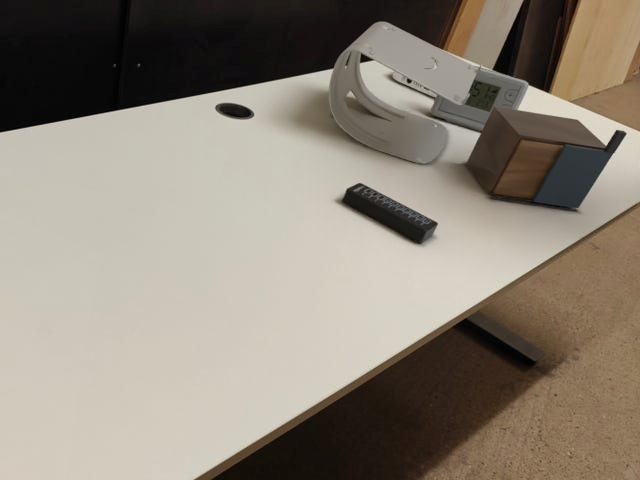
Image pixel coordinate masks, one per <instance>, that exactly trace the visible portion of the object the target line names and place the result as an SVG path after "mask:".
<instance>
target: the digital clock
mask: <svg viewBox="0 0 640 480" xmlns="http://www.w3.org/2000/svg"><path fill="white" fill-rule="evenodd" d="M474 66H475V67H476V68H478V69H479V67H480V66H477V65H474ZM528 88H529V82H527V80H524V79H520V78H517V77H513V76H511V75H508V74H505V73H501V72H498V71H494V70H491V69H487V68H485V67H481V69H480V71H479V72H478V74H476V76H475V78H474V81H473V83H472V85H471V87H470V90H469V92H468V93H469V94H470V95H469V97H468V99H467V101H466V103H465V104H464V105H462V106H458V105H456V104H454V103H452V102H451V101H449V100H447V99H445V98H443V97H441V96H440V95H438V94H437V97H436V98H434V101H433V104H432V106H431V109H430V114H431V115H432V116H434V117H437V118H441V119H444V121H445V122H447V123H452V124H455V125H458V126H462V127H464V128H467V129H471V130H475V131H478V132H480V133H481V132H482V130H483V128H484V126H485V124H486V122H487V120H488V118H489V116H490V114H491V112H492V110H493V108H494V106H495V107H501V108H508V109H514V110H519V108H520V106H521V104H522V102H523V99H524V97H525V95H526V93H527V91H528ZM467 95H468V94H467ZM466 97H467V96H466Z"/></svg>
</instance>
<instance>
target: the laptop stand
mask: <svg viewBox="0 0 640 480" xmlns="http://www.w3.org/2000/svg"><path fill="white" fill-rule="evenodd" d="M361 55H364V56H366V57H367V58H369V59H371V60H373V61H374V62H377V63H378V64H380V65H382V66H384V67H386V68H388V69H390V70H391V71H393V72H394V71H395V72H397V73H399V74H401V75H403V76H404V77H406V78H408V79H410V80H412V81H414V82H416V83H417V84H419V85H421V86H423V87H425V88H427V89H428V90H430V91H432V92H434V93H436V94H438V95H440V96H441V97H443V98H445V99H447V100H449V101H451V102H452V103H454V104H456V105H458V106H462V105H464V104H465V103H466V101H467V99H468V97H469V95H470V94H469V93H468V92H469V90H470V87H471V85H472V83H473V81H474V78H475V76H476V74H478V72H479V71H480V69H481V68H483V63H481V64H480V65H479V66H478V67H479V69H478V68H476V67H475V66H476V65H474V64H471V63H469V62H467V61H465V60H463V59H461V58H458V57H457V56H455V55H453V54H452V53H449V52H447V51H445V50H443V49H441V48H439V47H437V46H435V45H433V44H431V43H429V42H427V41H426V40H423V39H421V38H419V37H418V36H415V35H414V34H411V33H409V32H407V31H405V30H403V29H401V28H400V27H397V26H396V25H393V24H392V23H390V22H387V21H377V22H374V23H373V24H372V25H370V26H369V27H368V28H367V29H366V30H365V31H364V32H363V33H362V34H361V35H360V36H358V38H356V39H355V40H354V41H353V42H352V43H351V44H350V45H348V47H347V48H346V49H344V50H343V51H342V53H340V55H339V56H338V58H337V60H336V61H335V63H334V67H333V69H332V72H331V75H330V80H329V86H328V104H329V108H330V111H331V114H332V116H333V119H334V120H335V122H336V124H337V125H338V126H339V127H340V128H341V129H342V130H343V131H344V132H345V133H347V134H348V136H350V137H352V138H353V139H354V140H356V141H358V142H359V143H361V144H363V145H364V146H365V145H366V147H369V148H371V149H373V150H376V151H378V152H382V153H385V154H388V155H391V156H394V157H397V158H399V159H403V160H406V161H409V162H413V163H415V164H416V163H417V164H422V165H426V164H431V163H432V162H433V161H434V160H435V159H437V157H438V156H440V154H441V152H442V151H443V149H444V147H445V144H446V141H447V129H446V127H445V126H444V124H442V123H440V122H438V121H436V120H433V119H430V118H426V117H424V116H421V115H418V114H414V113H412V112H410V111H409V112H408V111H406V110H402V109H399V108H397V107H395V106H393V105H391V104H388V103H387V102H385V101H384V100H382V99H380V98H379V97H378V96H376V95H375V94H374V93H372V91H370V89H369V88H368V87H367V86H366V84H365V82H364V80H363V77H362V73H361ZM347 61H348V62H347ZM435 63H436V65H437V68H435V69H432V68H434V67H435ZM350 92H351V93H352V95H353V96H354V98H355V99H356V101H357V102H358V103H359V104H360V105H362V106H363V107H364V109H367V110H368V111H369V112H370V113H371V114H369V113H365V112H362V111H359V110H356V109H353V108H350V107H348V106H347V103H346V99H345V98H346V97H347V95H348V94H349V93H350ZM467 94H468V95H467ZM466 96H467V97H466ZM372 114H373V115H372Z"/></svg>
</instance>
